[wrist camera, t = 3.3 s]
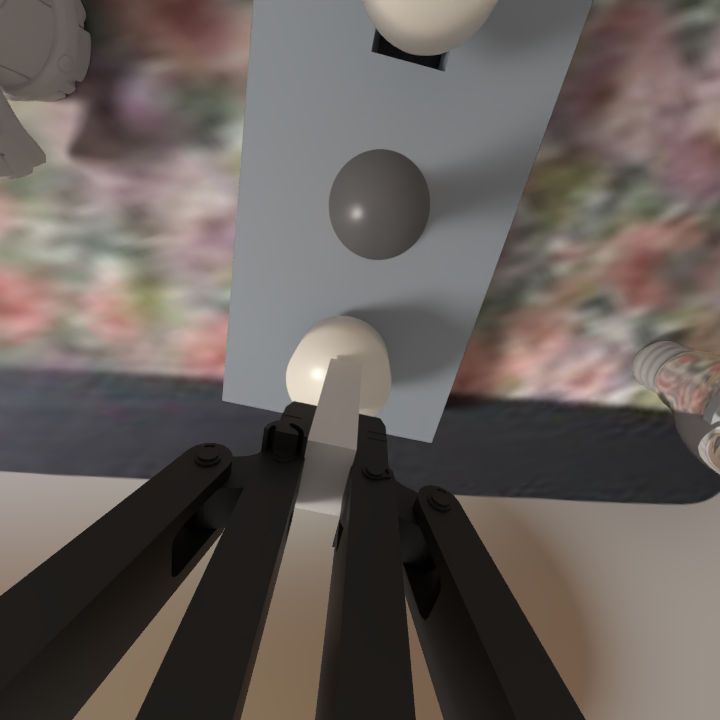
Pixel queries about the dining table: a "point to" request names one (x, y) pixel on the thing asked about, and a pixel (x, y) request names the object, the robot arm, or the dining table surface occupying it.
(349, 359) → the knob
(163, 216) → the dining table surface
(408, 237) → the ball
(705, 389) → the light bulb
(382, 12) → the knob
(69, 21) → the mug
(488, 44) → the panel
